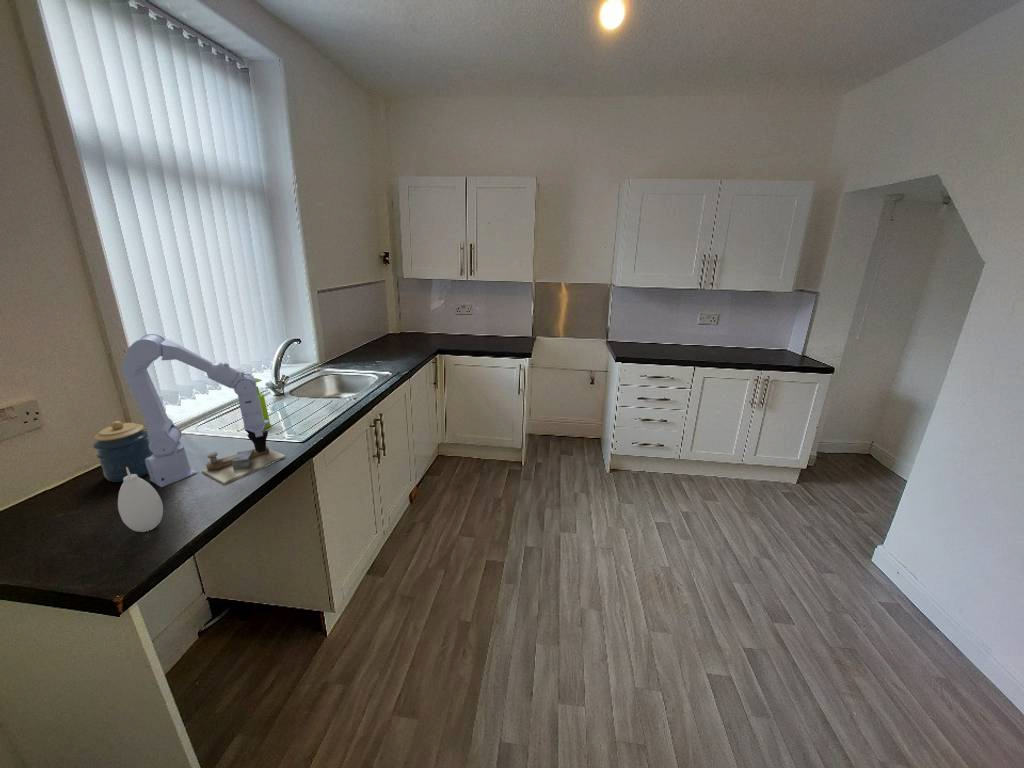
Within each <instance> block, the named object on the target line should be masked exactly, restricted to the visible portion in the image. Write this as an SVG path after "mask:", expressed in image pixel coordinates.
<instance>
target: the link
mask: <svg viewBox="0 0 1024 768" xmlns="http://www.w3.org/2000/svg"><path fill="white" fill-rule="evenodd" d="M253 446H254V448H253V449H252V450H254V453H253V455H252V456H251V458H253V457H256V456H259V455H262V454H266V453H269V449H270V448H269V447H268V446H267V445H266V451H264V452H261V453H258V451H257V450H256V447H255V445H254V444H253ZM268 448H269V449H268ZM218 455H219V454H218V452H216V451H215V452H210V453H208V454H207V455H206V456H207V458H208V459H210V460H209V461H208V462H207V463H206V464H205V467H206V468H207V470H217V469H220V468H222V467H223V466H227V465H230V464H232V462H231V461H232V460H233V459H234V457H235V456H236V454H232V455H230V456H227V457H223V458H220V459H218V458H217V456H218Z"/></svg>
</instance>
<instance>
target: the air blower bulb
mask: <svg viewBox="0 0 1024 768" xmlns="http://www.w3.org/2000/svg"><path fill="white" fill-rule="evenodd" d="M126 470H127V474H128V476H125V477H124V478H123V482H122V484H121V486H120V489H119V491H118V497H117V510H118V513H119V515H120V518H121V521H122V522H123V524H125V526H126V527H128V528H129V529H130V530H132V531H134V532H140V533H146V531H147V532H150V531H152V530H153V529H155V528H157V526H158V525H159V524H160V522H161V521H162V518H163V516H164V515H163V514H164V504H163V501H162V498H161V496H160V495H159V493H158V491H157V490H156V488H154V487H153V485H151V484H150V483H149V482H148V481H146V480H145V479H143V478H142V477H138V476H137V475H136V474H130V472H129V469H128V468H127V467H126ZM149 530H150V531H149Z"/></svg>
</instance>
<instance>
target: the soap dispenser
mask: <svg viewBox="0 0 1024 768" xmlns="http://www.w3.org/2000/svg"><path fill="white" fill-rule="evenodd" d="M254 378H255V380H256V383H260V382H261V381H262V379H261V378H256V377H254ZM256 387H257V388H256V389H257V392H258V396H259V399H260V403H261V408H262V412H263V417H264V421H265V420H268V421H269V424H266V425H265V426H264V429H267V428H269V427H270V426H271V421H270V417H269V412H268V407H267V404H266V403H267V402H266V399H265V396H264V393H261V392H260V389H259V386H258V385H256ZM264 429H263V430H264Z"/></svg>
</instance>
